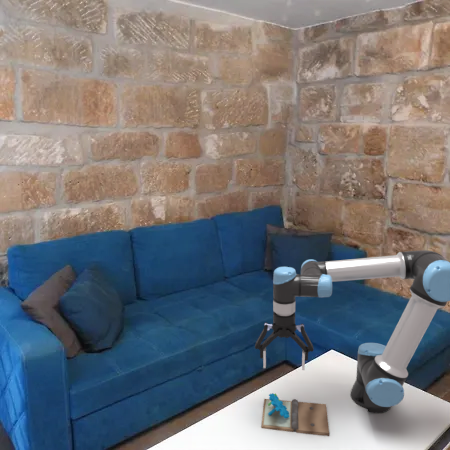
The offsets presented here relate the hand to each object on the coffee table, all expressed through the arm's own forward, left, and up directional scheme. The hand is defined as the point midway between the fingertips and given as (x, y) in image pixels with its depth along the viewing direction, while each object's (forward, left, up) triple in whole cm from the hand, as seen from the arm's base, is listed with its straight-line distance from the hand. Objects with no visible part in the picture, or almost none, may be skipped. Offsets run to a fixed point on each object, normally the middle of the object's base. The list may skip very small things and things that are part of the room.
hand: (283, 367), depth 154 cm
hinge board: (-4, +1, -19) cm, 20 cm away
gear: (-1, +2, -19) cm, 19 cm away
